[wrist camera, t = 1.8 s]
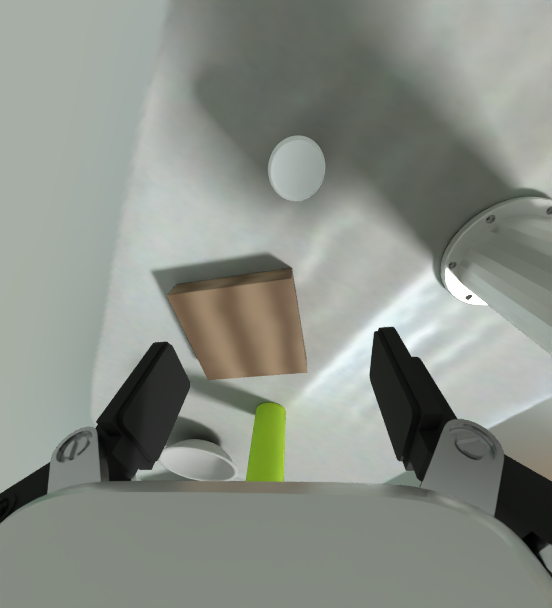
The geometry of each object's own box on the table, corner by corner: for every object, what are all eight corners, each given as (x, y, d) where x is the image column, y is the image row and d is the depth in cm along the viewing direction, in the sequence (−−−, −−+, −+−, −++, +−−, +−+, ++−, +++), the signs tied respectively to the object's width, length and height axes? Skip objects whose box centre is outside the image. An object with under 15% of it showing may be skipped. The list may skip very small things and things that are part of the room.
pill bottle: (286, 200, 26) (284, 218, 19) (263, 157, 24) (251, 159, 17) (326, 176, 25) (339, 186, 18) (306, 127, 23) (311, 117, 16)
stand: (292, 267, 30) (291, 278, 28) (306, 358, 39) (307, 372, 36) (176, 284, 33) (166, 295, 30) (213, 366, 41) (208, 380, 39)
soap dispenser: (246, 412, 48) (220, 553, 31) (270, 398, 45) (257, 545, 28) (267, 425, 50) (253, 564, 33) (291, 413, 47) (290, 558, 30)
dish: (253, 440, 53) (249, 465, 49) (228, 465, 61) (224, 488, 56) (176, 413, 50) (166, 438, 46) (160, 443, 57) (150, 467, 53)
